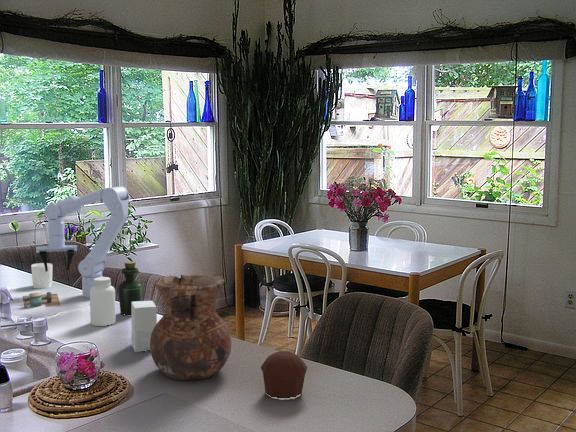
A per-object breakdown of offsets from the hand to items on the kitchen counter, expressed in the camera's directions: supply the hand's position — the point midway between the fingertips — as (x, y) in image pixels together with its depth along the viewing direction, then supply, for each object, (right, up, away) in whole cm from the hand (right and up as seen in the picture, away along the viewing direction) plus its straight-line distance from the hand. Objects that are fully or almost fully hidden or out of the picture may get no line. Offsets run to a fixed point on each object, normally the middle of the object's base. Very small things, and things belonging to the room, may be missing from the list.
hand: (57, 270), depth 254 cm
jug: (+62, -21, -78) cm, 101 cm away
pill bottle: (+27, -15, -34) cm, 46 cm away
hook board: (-2, -11, -12) cm, 16 cm away
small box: (+45, -18, -58) cm, 76 cm away
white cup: (-10, -9, +11) cm, 17 cm away
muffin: (+86, -23, -91) cm, 128 cm away
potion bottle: (+33, -13, -22) cm, 41 cm away
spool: (-1, -12, -18) cm, 22 cm away
